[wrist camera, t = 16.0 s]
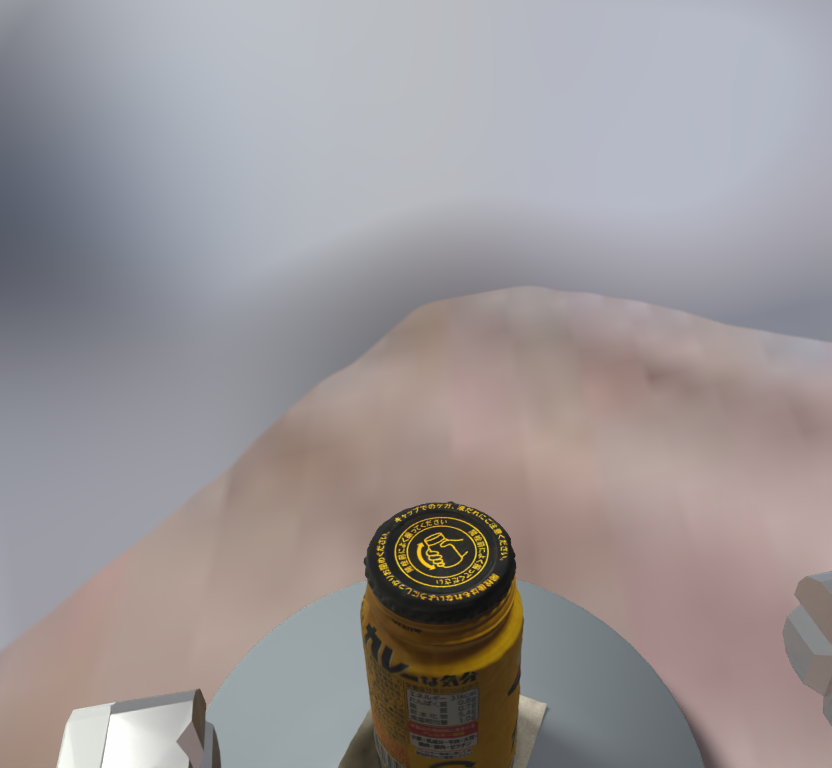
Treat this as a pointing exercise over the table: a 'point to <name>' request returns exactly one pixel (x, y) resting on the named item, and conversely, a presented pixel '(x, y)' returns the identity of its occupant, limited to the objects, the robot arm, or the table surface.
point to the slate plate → (540, 680)
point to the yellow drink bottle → (443, 646)
